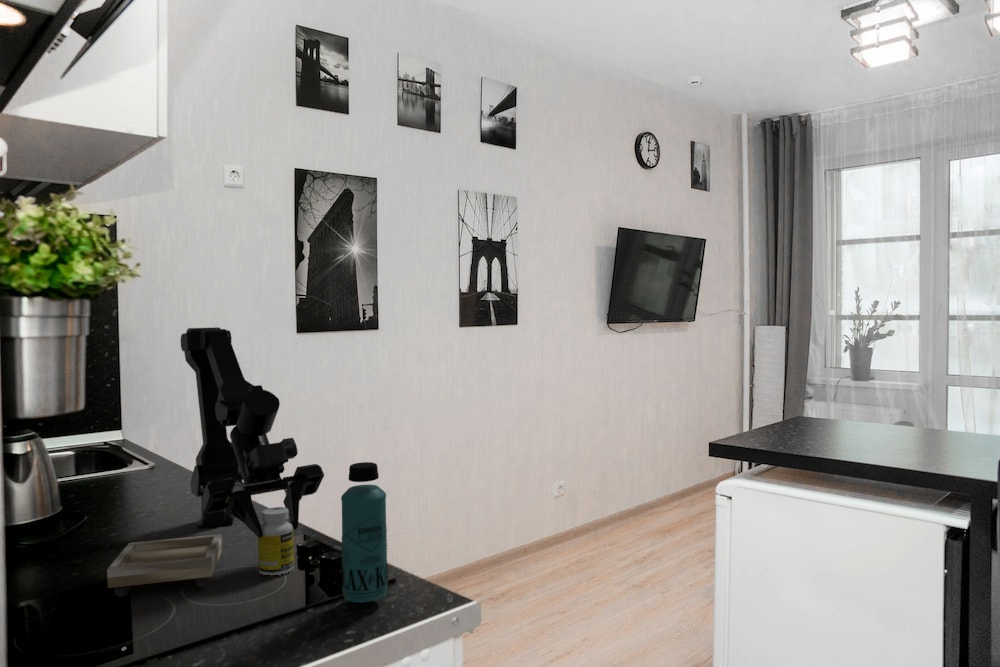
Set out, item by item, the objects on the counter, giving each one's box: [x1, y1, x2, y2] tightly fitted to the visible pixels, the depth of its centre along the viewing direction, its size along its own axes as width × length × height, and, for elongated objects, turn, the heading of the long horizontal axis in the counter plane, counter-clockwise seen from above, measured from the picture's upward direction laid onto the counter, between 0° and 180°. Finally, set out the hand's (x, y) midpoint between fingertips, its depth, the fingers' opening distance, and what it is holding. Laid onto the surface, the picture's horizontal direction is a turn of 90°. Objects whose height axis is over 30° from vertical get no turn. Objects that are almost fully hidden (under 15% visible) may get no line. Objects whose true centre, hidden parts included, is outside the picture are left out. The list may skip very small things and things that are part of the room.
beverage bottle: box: [340, 461, 389, 603], centre depth 96 cm, size 6×7×20 cm
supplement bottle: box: [257, 506, 295, 577], centre depth 110 cm, size 5×5×10 cm
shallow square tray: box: [106, 533, 223, 598], centre depth 107 cm, size 12×14×5 cm
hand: (278, 532), depth 108 cm, fingers closed on supplement bottle, 5 cm apart
